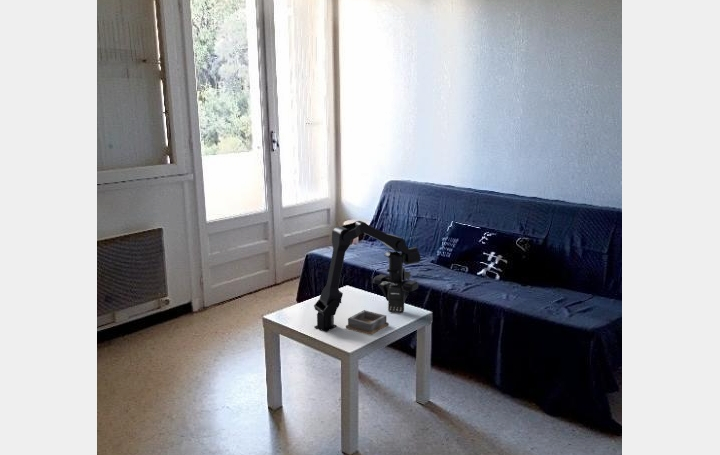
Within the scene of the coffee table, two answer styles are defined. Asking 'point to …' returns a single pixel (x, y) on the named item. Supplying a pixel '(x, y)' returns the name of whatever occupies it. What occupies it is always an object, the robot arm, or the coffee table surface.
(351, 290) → the coffee table surface
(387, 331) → the coffee table surface
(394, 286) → the battery charger
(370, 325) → the dock
